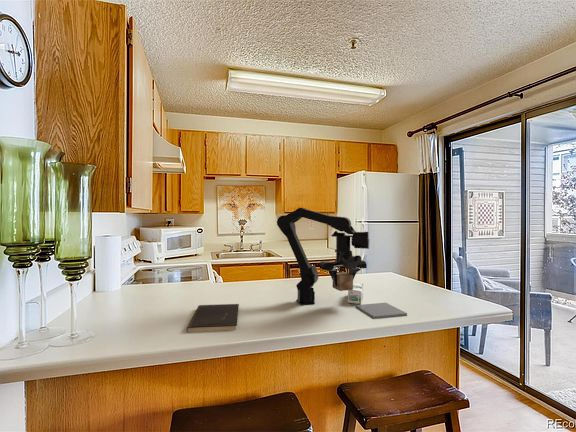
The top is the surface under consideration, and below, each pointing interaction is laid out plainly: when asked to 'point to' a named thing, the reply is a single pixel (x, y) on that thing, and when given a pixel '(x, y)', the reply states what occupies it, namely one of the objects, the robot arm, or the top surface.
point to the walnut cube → (344, 281)
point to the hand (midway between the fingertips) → (343, 285)
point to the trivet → (381, 310)
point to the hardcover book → (214, 318)
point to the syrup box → (356, 293)
